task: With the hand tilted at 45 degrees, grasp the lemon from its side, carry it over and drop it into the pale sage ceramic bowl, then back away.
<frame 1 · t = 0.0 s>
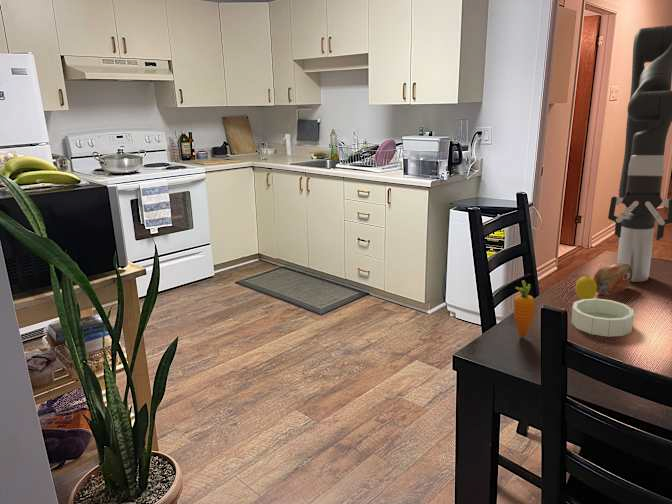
hand: (637, 238, 129), 22 cm above the table, tool pointing down, fingers open, 8 cm apart
carrot: (522, 338, 129), on the table
bowl: (601, 324, 133), on the table
lemon: (584, 302, 149), on the table
tin: (611, 292, 155), on the table
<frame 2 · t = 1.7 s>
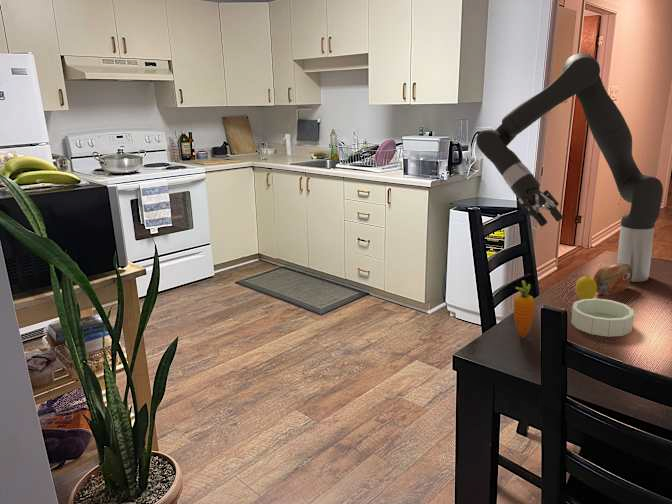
hand: (552, 222, 151), 22 cm above the table, tool tilted 45°, fingers open, 8 cm apart
nothing on the table moved.
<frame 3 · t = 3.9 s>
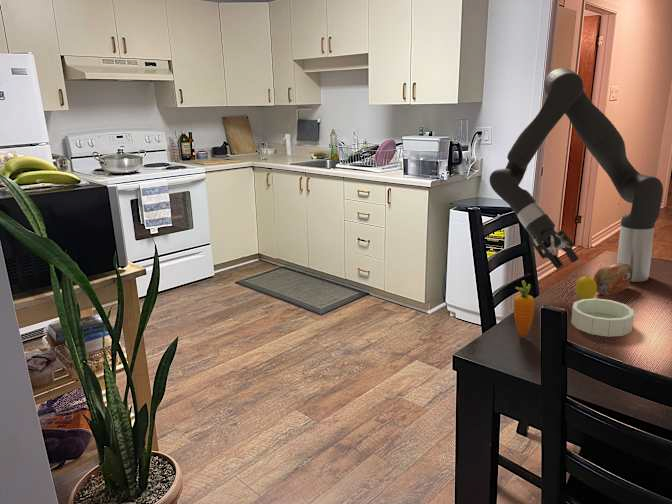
hand: (568, 264, 150), 10 cm above the table, tool tilted 45°, fingers open, 8 cm apart
nothing on the table moved.
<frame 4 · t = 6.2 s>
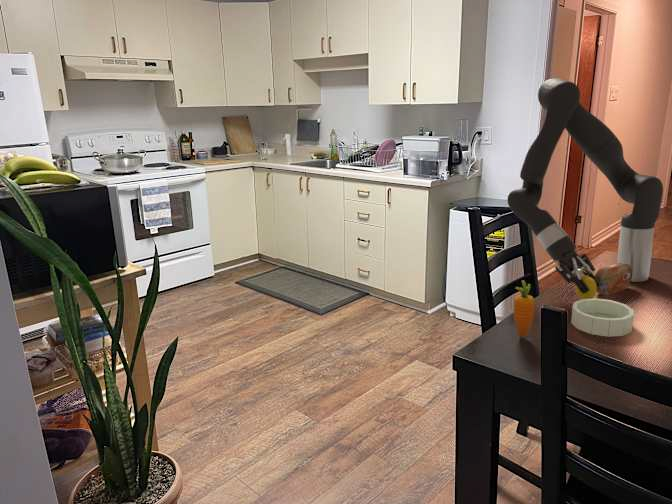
hand: (592, 289, 146), 4 cm above the table, tool tilted 45°, fingers closed on lemon, 5 cm apart
lemon: (584, 301, 149), on the table, touching gripper
everything else where it was.
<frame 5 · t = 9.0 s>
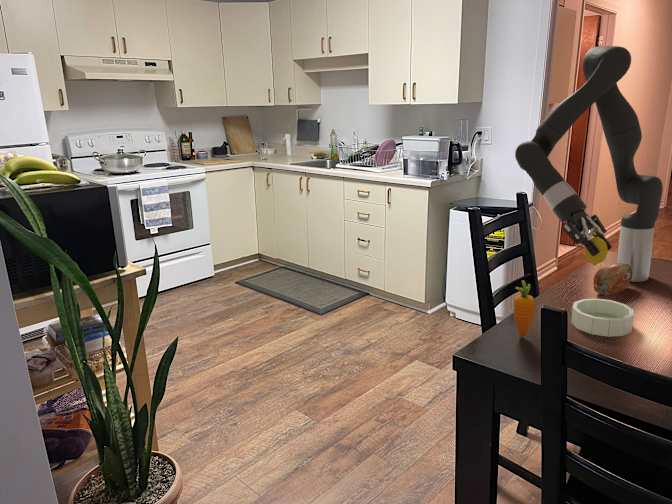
hand: (602, 251, 134), 18 cm above the table, tool tilted 45°, fingers closed on lemon, 5 cm apart
lemon: (594, 266, 136), point 14 cm above the table, touching gripper
everything else where it was.
when the fingers open (9 cm above the table, at t = 12.1 s): lemon drops 3 cm, resting on bowl.
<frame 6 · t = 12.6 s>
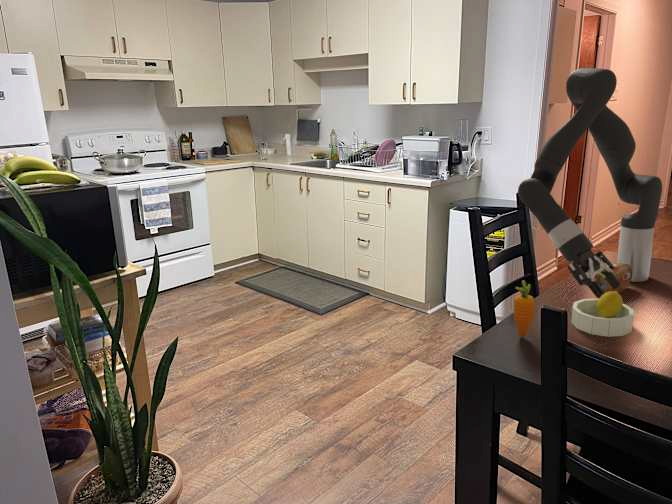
hand: (609, 291, 130), 10 cm above the table, tool tilted 45°, fingers open, 8 cm apart
lemon: (601, 318, 133), point 2 cm above the table, touching bowl
everything else where it was.
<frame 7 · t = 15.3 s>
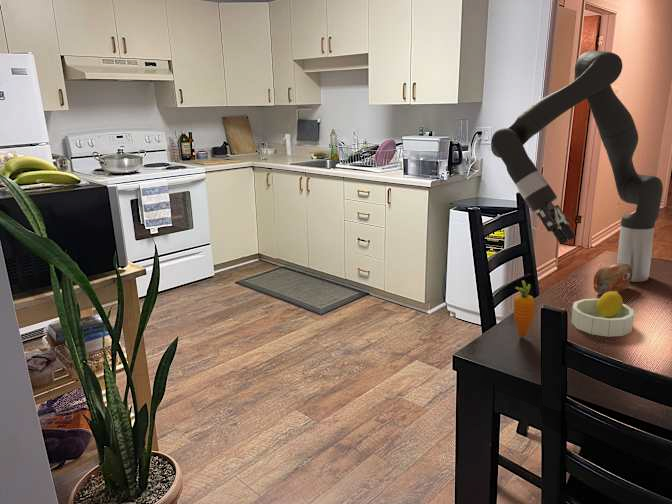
hand: (568, 240, 139), 20 cm above the table, tool tilted 40°, fingers open, 8 cm apart
nothing on the table moved.
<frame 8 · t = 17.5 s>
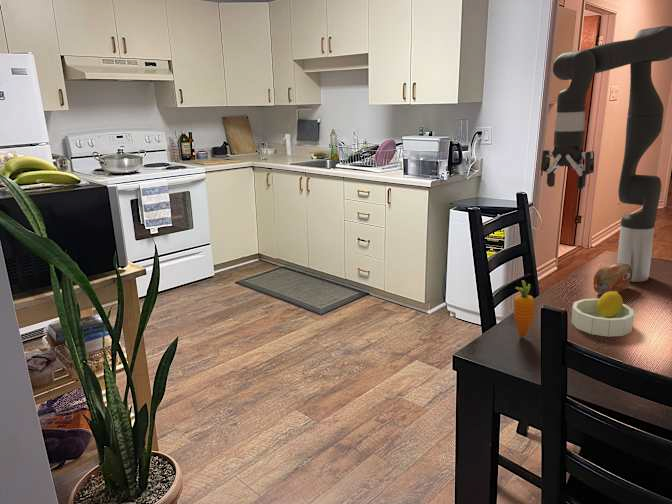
hand: (565, 187, 144), 33 cm above the table, tool pointing down, fingers open, 8 cm apart
nothing on the table moved.
at the end: lemon inside the target area on the bowl (0.4 cm from its centre), point 1.5 cm above the bowl's base; lemon touching bowl; the gripper is holding nothing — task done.
